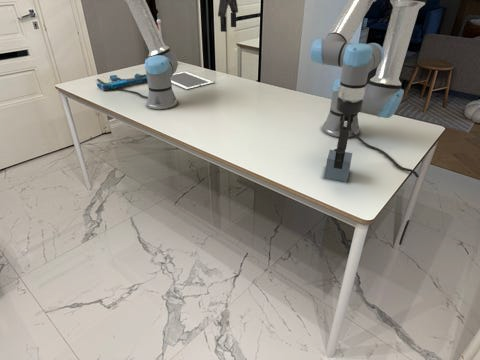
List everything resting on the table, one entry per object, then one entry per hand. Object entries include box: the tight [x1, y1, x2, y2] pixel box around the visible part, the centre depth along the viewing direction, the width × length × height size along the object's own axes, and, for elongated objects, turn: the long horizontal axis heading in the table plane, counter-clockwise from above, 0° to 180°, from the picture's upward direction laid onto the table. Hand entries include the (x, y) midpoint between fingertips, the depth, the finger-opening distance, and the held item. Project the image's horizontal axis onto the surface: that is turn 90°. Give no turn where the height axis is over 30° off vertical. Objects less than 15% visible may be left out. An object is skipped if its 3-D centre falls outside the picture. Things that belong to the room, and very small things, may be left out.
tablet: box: [171, 70, 215, 90], centre depth 212 cm, size 32×20×1 cm, turn 41°
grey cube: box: [323, 149, 353, 183], centre depth 117 cm, size 8×7×8 cm
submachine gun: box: [96, 73, 148, 91], centre depth 208 cm, size 34×4×25 cm
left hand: (228, 29), depth 168 cm, fingers open, 13 cm apart
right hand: (339, 158), depth 116 cm, fingers open, 13 cm apart
